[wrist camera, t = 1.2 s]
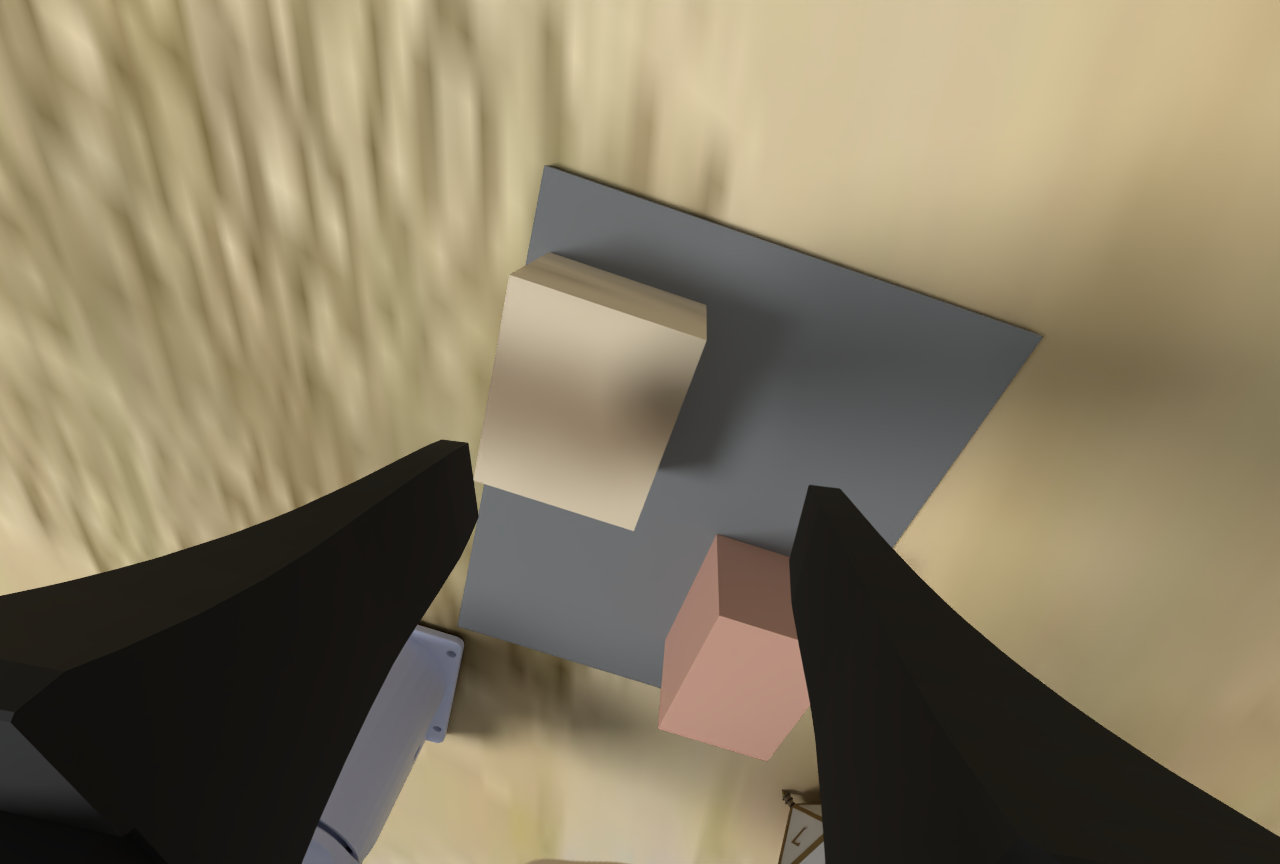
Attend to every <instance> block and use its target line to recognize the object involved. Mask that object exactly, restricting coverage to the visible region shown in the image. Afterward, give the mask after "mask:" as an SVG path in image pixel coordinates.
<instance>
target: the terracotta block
mask: <svg viewBox="0 0 1280 864" xmlns="http://www.w3.org/2000/svg"><path fill="white" fill-rule="evenodd" d="M789 558H790V557H787V556H784V555H781V554H778V553H775V552H772V551H769V550H765V549H762V548H759V547H756V546H753V545H750V544H747V543H743V542H740V541H737V540H734V539H731V538H728V537H725V536H721V535H718V534H717V535H716V537H715V539H714V541H713V543H712V545H711V547H710V549H709V551H708V553H707V555H706V557H705V559H704V561H703V563H702V565H701V568H700V570H699V572H698V574H697V576H696V578H695V580H694V582H693V584H692V586H691V588H690V590H689V592H688V594H687V596H686V598H685V600H684V603H683V605H682V607H681V609H680V611H679V613H678V615H677V617H676V619H675V621H674V623H673V625H672V627H671V629H670V631H669V633H668V635H667V638H666V640H665V650H664V661H663V673H662V685H661V697H660V709H659V721H658V729H661V730H664V731H667V732H671V733H674V734H677V735H681V736H684V737H687V738H691V739H694V740H697V741H701V742H704V743H707V744H711V745H714V746H717V747H721V748H724V749H727V750H731V751H734V752H737V753H741V754H744V755H747V756H751V757H754V758H757V759H761V760H764V761H768V760H769V759H770V757H771V756H772V755H773V753H774V752H775V751H776V749H777V748H778V747H779V745H780V744H781V743H782V741H783V740H784V739H785V737H786V736H787V735H788V734H789V732H790V731H791V730H792V728H793V727H794V726H795V724H796V723H797V722H798V720H799V719H800V718H801V716H802V715H803V714H804V712H805V711H806V710H807V709H808V707H809V706H810V701H809V696H808V691H807V685H806V680H805V675H804V670H803V664H802V659H801V654H800V649H799V643H798V638H797V632H796V627H795V621H794V616H793V610H792V604H791V589H790V569H789Z"/></svg>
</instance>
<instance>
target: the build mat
mask: <svg viewBox="0 0 1280 864" xmlns="http://www.w3.org/2000/svg"><path fill="white" fill-rule="evenodd" d="M549 252H550V253H553V254H556V255H559V256H562V257H565V258H568V259H571V260H574V261H577V262H580V263H583V264H586V265H589V266H592V267H595V268H598V269H601V270H604V271H607V272H610V273H613V274H616V275H619V276H622V277H625V278H628V279H631V280H634V281H637V282H640V283H642V284H645V285H648V286H651V287H654V288H657V289H660V290H663V291H666V292H669V293H672V294H675V295H678V296H681V297H684V298H687V299H690V300H693V301H696V302H699V303H702V304H705V305H706V311H707V341H706V344H705V346H704V349H703V351H702V354H701V357H700V359H699V362H698V364H697V367H696V370H695V372H694V375H693V378H692V380H691V383H690V385H689V388H688V391H687V393H686V396H685V398H684V401H683V404H682V406H681V409H680V412H679V414H678V417H677V419H676V422H675V425H674V427H673V430H672V432H671V435H670V438H669V440H668V443H667V446H666V448H665V451H664V453H663V456H662V459H661V461H660V464H659V466H658V469H657V472H656V474H655V477H654V480H653V482H652V485H651V487H650V490H649V493H648V495H647V498H646V500H645V503H644V506H643V508H642V511H641V514H640V516H639V519H638V521H637V524H636V527H635V529H634V531H632V530H628V529H625V528H622V527H619V526H616V525H613V524H609V523H606V522H603V521H600V520H597V519H594V518H590V517H587V516H584V515H581V514H578V513H575V512H571V511H568V510H565V509H562V508H559V507H556V506H553V505H549V504H546V503H543V502H540V501H537V500H534V499H530V498H527V497H524V496H521V495H518V494H515V493H511V492H508V491H505V490H502V489H499V488H496V487H492V486H489V485H486V484H484V488H483V494H482V499H481V504H480V510H479V515H478V516H479V518H478V520H477V525H476V531H475V536H474V541H473V547H472V552H471V557H470V563H469V568H468V573H467V578H466V584H465V589H464V594H463V600H462V605H461V610H460V616H459V621H458V627H461V628H464V629H468V630H471V631H474V632H478V633H481V634H484V635H487V636H491V637H494V638H497V639H501V640H504V641H507V642H510V643H514V644H517V645H520V646H524V647H527V648H530V649H533V650H537V651H540V652H543V653H547V654H550V655H553V656H556V657H560V658H563V659H566V660H570V661H573V662H576V663H579V664H583V665H586V666H589V667H593V668H596V669H599V670H602V671H606V672H609V673H612V674H616V675H619V676H622V677H625V678H629V679H632V680H635V681H639V682H642V683H645V684H648V685H652V686H655V687H658V688H661V685H662V673H663V661H664V650H665V640H666V638H667V635H668V633H669V631H670V629H671V627H672V625H673V623H674V621H675V619H676V617H677V615H678V613H679V611H680V609H681V607H682V605H683V603H684V600H685V598H686V596H687V594H688V592H689V590H690V588H691V586H692V584H693V582H694V580H695V578H696V576H697V574H698V572H699V570H700V568H701V565H702V563H703V561H704V559H705V557H706V555H707V553H708V551H709V549H710V547H711V545H712V543H713V541H714V539H715V537H716V535H717V534H718V535H721V536H725V537H728V538H731V539H734V540H737V541H740V542H743V543H747V544H750V545H753V546H756V547H759V548H762V549H765V550H769V551H772V552H775V553H778V554H781V555H784V556H787V557H790V555H791V551H792V547H793V543H794V539H795V536H796V532H797V528H798V524H799V520H800V516H801V513H802V509H803V505H804V501H805V497H806V494H807V490H808V486H809V485H816V486H824V487H832V488H840V489H841V490H842V491H843V492H844V493H845V494H846V496H847V497H848V498H849V499H850V500H851V501H852V503H853V504H854V505H855V506H856V507H857V508H858V510H859V511H860V512H861V513H862V514H863V515H864V517H865V518H866V519H867V520H868V521H869V522H870V523H871V525H872V526H873V527H874V528H875V529H876V530H877V532H878V533H879V534H880V535H881V536H882V537H883V538H884V539H885V541H886V542H887V543H888V544H889V545H890V546H891V547H892V548H893V546H894V545H895V543H896V542H897V541H898V539H899V538H900V536H901V535H902V534H903V532H904V531H905V529H906V528H907V527H908V525H909V524H910V522H911V521H912V520H913V518H914V517H915V515H916V514H917V513H918V511H919V510H920V508H921V507H922V506H923V504H924V503H925V501H926V500H927V499H928V497H929V496H930V494H931V493H932V492H933V490H934V489H935V487H936V486H937V485H938V483H939V482H940V480H941V479H942V478H943V476H944V475H945V473H946V472H947V471H948V469H949V468H950V466H951V465H952V464H953V462H954V461H955V459H956V458H957V457H958V455H959V454H960V452H961V451H962V450H963V448H964V447H965V445H966V444H967V443H968V441H969V440H970V438H971V437H972V436H973V434H974V433H975V431H976V430H977V429H978V427H979V426H980V424H981V423H982V422H983V420H984V419H985V417H986V416H987V415H988V413H989V412H990V410H991V409H992V408H993V406H994V405H995V403H996V402H997V400H998V399H999V398H1000V396H1001V395H1002V393H1003V392H1004V391H1005V389H1006V388H1007V386H1008V385H1009V384H1010V382H1011V381H1012V379H1013V378H1014V377H1015V375H1016V374H1017V372H1018V371H1019V370H1020V368H1021V367H1022V365H1023V364H1024V363H1025V361H1026V360H1027V358H1028V357H1029V356H1030V354H1031V353H1032V351H1033V350H1034V349H1035V347H1036V346H1037V344H1038V343H1039V342H1040V340H1041V339H1042V337H1043V336H1041V335H1039V334H1037V333H1035V332H1032V331H1029V330H1026V329H1023V328H1020V327H1017V326H1014V325H1011V324H1008V323H1006V322H1003V321H1000V320H997V319H994V318H991V317H988V316H985V315H982V314H979V313H976V312H973V311H971V310H968V309H965V308H962V307H959V306H956V305H953V304H950V303H947V302H944V301H941V300H939V299H936V298H933V297H930V296H927V295H924V294H921V293H918V292H915V291H912V290H909V289H906V288H904V287H901V286H898V285H895V284H892V283H889V282H886V281H883V280H880V279H877V278H874V277H872V276H869V275H866V274H863V273H860V272H857V271H854V270H851V269H848V268H845V267H842V266H839V265H837V264H834V263H831V262H828V261H825V260H822V259H819V258H816V257H813V256H810V255H807V254H805V253H802V252H799V251H796V250H793V249H790V248H787V247H784V246H781V245H778V244H775V243H772V242H770V241H767V240H764V239H761V238H758V237H755V236H752V235H749V234H746V233H743V232H740V231H738V230H735V229H732V228H729V227H726V226H723V225H720V224H717V223H714V222H711V221H708V220H705V219H703V218H700V217H697V216H694V215H691V214H688V213H685V212H682V211H679V210H676V209H673V208H671V207H668V206H665V205H662V204H659V203H656V202H653V201H650V200H647V199H644V198H641V197H638V196H636V195H633V194H630V193H627V192H624V191H621V190H618V189H615V188H612V187H609V186H606V185H604V184H601V183H598V182H595V181H592V180H589V179H586V178H583V177H580V176H577V175H574V174H571V173H569V172H566V171H563V170H560V169H557V168H554V167H551V166H548V165H544V170H543V176H542V181H541V186H540V192H539V197H538V202H537V207H536V213H535V218H534V223H533V229H532V234H531V239H530V245H529V250H528V255H527V260H526V265H528V264H529V263H531V262H533V261H535V260H536V259H538V258H540V257H542V256H543V255H545V254H547V253H549Z"/></svg>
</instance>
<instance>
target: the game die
mask: <svg viewBox="0 0 1280 864" xmlns="http://www.w3.org/2000/svg"><path fill="white" fill-rule="evenodd" d="M782 794H783V799H782V800H784V801H785V802H786V803H785V804H788V805H789V806H790V811H789V816H788V821H787V825H786V830H785V834H784V839H783V843H782V848H781V853H780V857H779V862H778V864H825V851H824V838H823V824H822V811H821V803H802V804H795V803H794V802H793V800H792V799H793V798H792V797H791V796H790V793H787V792H785V791H783V790H782Z"/></svg>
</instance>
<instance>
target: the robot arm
mask: <svg viewBox="0 0 1280 864" xmlns="http://www.w3.org/2000/svg"><path fill="white" fill-rule="evenodd" d="M478 518H479V516H478V509H477V502H476V495H475V488H474V480H473V473H472V466H471V459H470V451H469V444H468V443H465V442H457V441H449V440H440V441H437V442H435V443H432V444H430V445H428V446H426V447H423V448H421V449H419V450H417V451H415V452H413V453H411V454H409V455H407V456H405V457H403V458H401V459H399V460H397V461H395V462H393V463H391V464H389V465H387V466H385V467H383V468H381V469H379V470H377V471H375V472H373V473H371V474H369V475H367V476H365V477H363V478H361V479H359V480H357V481H356V482H353V483H351V484H349V485H347V486H345V487H343V488H341V489H338V490H336V491H334V492H332V493H330V494H328V495H326V496H323V497H321V498H319V499H317V500H315V501H313V502H310V503H308V504H306V505H304V506H302V507H299V508H297V509H295V510H292V511H290V512H288V513H285V514H283V515H280V516H278V517H275V518H273V519H270V520H268V521H265V522H262V523H260V524H257V525H255V526H252V527H249V528H247V529H244V530H241V531H239V532H236V533H233V534H230V535H227V536H225V537H221V538H218V539H215V540H212V541H209V542H206V543H203V544H200V545H196V546H193V547H190V548H187V549H184V550H181V551H178V552H175V553H171V554H168V555H165V556H162V557H159V558H155V559H152V560H148V561H145V562H141V563H137V564H134V565H130V566H126V567H123V568H119V569H115V570H111V571H108V572H104V573H100V574H96V575H92V576H88V577H84V578H80V579H76V580H72V581H67V582H63V583H59V584H54V585H50V586H46V587H41V588H36V589H31V590H27V591H22V592H17V593H12V594H7V595H3V596H0V864H362V862H363V860H364V858H365V857H366V856H367V855H368V853H369V852H370V851H371V849H372V848H373V846H374V844H375V843H376V841H377V839H378V837H379V835H380V833H381V831H382V829H383V827H384V825H385V822H386V820H387V818H388V816H389V814H390V812H391V810H392V808H393V806H394V804H395V802H396V800H397V798H398V796H399V794H400V792H401V790H402V787H403V785H404V783H405V781H406V779H407V777H408V775H409V773H410V771H411V769H412V767H413V765H414V763H415V761H416V759H417V757H418V755H419V752H420V750H421V748H422V746H423V744H424V742H425V740H428V741H432V742H435V743H440V742H443V740H444V738H445V736H446V733H447V728H448V723H449V718H450V713H451V708H452V703H453V698H454V693H455V688H456V684H457V679H458V674H459V669H460V664H461V659H462V654H463V649H464V642H463V640H462V639H460V638H459V637H457V636H453V635H450V634H447V633H443V632H440V631H437V630H434V629H430V628H427V627H424V626H420V625H418V623H419V622H420V620H421V619H422V617H423V616H424V614H425V612H426V611H427V609H428V608H429V606H430V605H431V603H432V602H433V600H434V598H435V597H436V595H437V594H438V592H439V591H440V589H441V588H442V586H443V584H444V583H445V581H446V580H447V578H448V576H449V575H450V573H451V572H452V570H453V568H454V567H455V565H456V564H457V562H458V560H459V559H460V557H461V555H462V553H463V551H464V549H465V547H466V545H467V542H468V540H469V538H470V536H471V534H472V531H473V529H474V527H475V524H476V522H477V520H478ZM789 569H790V589H791V604H792V610H793V616H794V621H795V627H796V632H797V638H798V643H799V649H800V654H801V659H802V664H803V670H804V675H805V680H806V685H807V691H808V696H809V701H810V707H811V712H812V719H813V726H814V732H815V740H816V752H817V763H818V774H819V785H820V797H821V811H822V824H823V838H824V851H825V864H1280V837H1279V836H1277V835H1276V834H1274V833H1272V832H1271V831H1269V830H1267V829H1266V828H1264V827H1262V826H1261V825H1259V824H1257V823H1256V822H1254V821H1252V820H1251V819H1249V818H1247V817H1246V816H1244V815H1242V814H1241V813H1239V812H1237V811H1236V810H1234V809H1232V808H1231V807H1229V806H1228V805H1226V804H1224V803H1223V802H1221V801H1219V800H1218V799H1216V798H1214V797H1213V796H1211V795H1209V794H1208V793H1206V792H1204V791H1203V790H1201V789H1199V788H1198V787H1196V786H1194V785H1193V784H1191V783H1189V782H1188V781H1186V780H1184V779H1183V778H1181V777H1180V776H1178V775H1176V774H1175V773H1173V772H1171V771H1170V770H1168V769H1167V768H1165V767H1164V766H1162V765H1160V764H1159V763H1157V762H1156V761H1154V760H1153V759H1151V758H1150V757H1148V756H1147V755H1145V754H1144V753H1142V752H1141V751H1139V750H1138V749H1136V748H1135V747H1133V746H1132V745H1130V744H1129V743H1127V742H1126V741H1124V740H1123V739H1121V738H1120V737H1118V736H1117V735H1115V734H1114V733H1112V732H1111V731H1109V730H1108V729H1106V728H1105V727H1103V726H1102V725H1100V724H1099V723H1097V722H1096V721H1095V720H1093V719H1092V718H1090V717H1089V716H1087V715H1086V714H1085V713H1083V712H1082V711H1080V710H1079V709H1077V708H1076V707H1075V706H1073V705H1072V704H1070V703H1069V702H1068V701H1066V700H1065V699H1063V698H1062V697H1061V696H1059V695H1058V694H1057V693H1055V692H1054V691H1053V690H1051V689H1050V688H1049V687H1047V686H1046V685H1045V684H1043V683H1042V682H1041V681H1039V680H1038V679H1037V678H1035V677H1034V676H1033V675H1031V674H1030V673H1029V672H1027V671H1026V670H1025V669H1023V668H1022V667H1021V666H1020V665H1018V664H1017V663H1016V662H1015V661H1013V660H1012V659H1011V658H1010V657H1008V656H1007V655H1006V654H1005V653H1003V652H1002V651H1001V650H1000V649H998V648H997V647H996V646H995V645H994V644H992V643H991V642H990V641H989V640H988V639H987V638H985V637H984V636H983V635H982V634H981V633H980V632H978V631H977V630H976V629H975V628H974V627H973V626H971V625H970V624H969V623H968V622H967V621H966V620H964V619H963V618H962V617H961V616H960V615H959V614H958V613H957V612H956V611H954V610H953V609H952V608H951V607H950V606H949V605H948V604H947V603H946V602H945V601H944V600H943V599H942V598H941V597H940V596H939V595H938V594H937V593H936V592H934V591H933V590H932V589H931V588H930V587H929V586H928V585H927V584H926V583H925V582H924V581H923V580H922V579H921V578H920V577H919V576H918V575H917V574H916V573H915V572H914V571H913V570H912V569H911V568H910V566H909V565H908V564H907V563H906V562H905V561H904V560H903V559H902V558H901V557H900V556H899V555H898V554H897V553H896V552H895V550H894V549H893V548H892V547H891V546H890V545H889V544H888V543H887V542H886V541H885V539H884V538H883V537H882V536H881V535H880V534H879V533H878V532H877V530H876V529H875V528H874V527H873V526H872V525H871V523H870V522H869V521H868V520H867V519H866V518H865V517H864V515H863V514H862V513H861V512H860V511H859V510H858V508H857V507H856V506H855V505H854V504H853V503H852V501H851V500H850V499H849V498H848V497H847V496H846V494H845V493H844V492H843V491H842V490H841V489H840V488H832V487H824V486H816V485H809V486H808V490H807V494H806V497H805V501H804V505H803V509H802V513H801V516H800V520H799V524H798V528H797V532H796V536H795V539H794V543H793V547H792V551H791V555H790V558H789Z"/></svg>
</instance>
